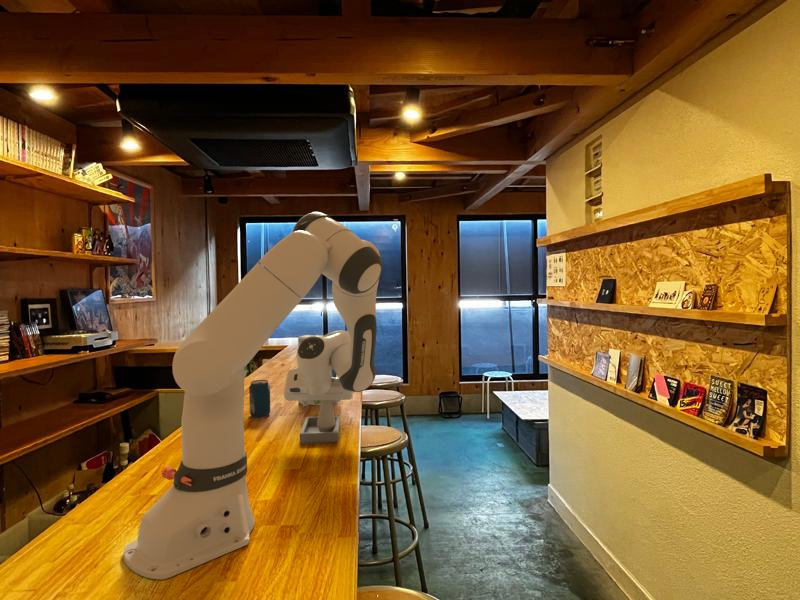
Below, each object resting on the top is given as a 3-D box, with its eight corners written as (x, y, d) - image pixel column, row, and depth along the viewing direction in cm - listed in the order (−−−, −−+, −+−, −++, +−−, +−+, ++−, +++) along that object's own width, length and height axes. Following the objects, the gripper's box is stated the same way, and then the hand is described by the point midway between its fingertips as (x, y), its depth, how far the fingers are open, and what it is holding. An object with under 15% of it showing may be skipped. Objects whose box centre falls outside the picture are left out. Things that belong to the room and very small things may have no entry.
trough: (337, 442, 135) (337, 432, 135) (299, 443, 134) (299, 433, 134) (340, 424, 151) (340, 415, 151) (306, 425, 150) (306, 416, 150)
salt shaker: (332, 435, 139) (333, 392, 138) (314, 433, 140) (315, 391, 139) (337, 429, 145) (338, 388, 144) (320, 427, 146) (321, 387, 145)
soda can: (273, 412, 164) (272, 379, 164) (265, 418, 157) (265, 384, 157) (254, 412, 165) (254, 379, 164) (246, 418, 158) (245, 383, 157)
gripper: (353, 369, 135) (354, 393, 145) (282, 370, 134) (289, 394, 144) (352, 388, 131) (354, 412, 141) (279, 389, 129) (286, 413, 140)
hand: (320, 403), depth 142 cm, fingers open, 8 cm apart
